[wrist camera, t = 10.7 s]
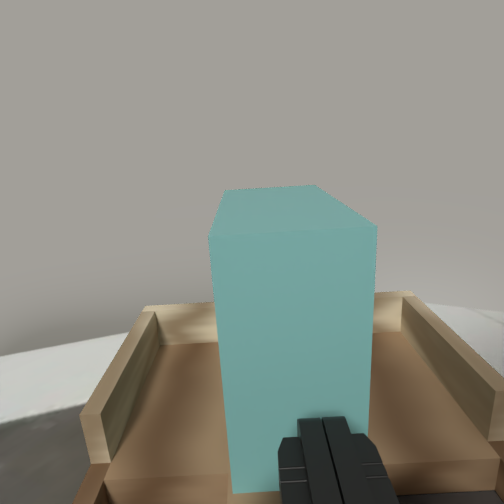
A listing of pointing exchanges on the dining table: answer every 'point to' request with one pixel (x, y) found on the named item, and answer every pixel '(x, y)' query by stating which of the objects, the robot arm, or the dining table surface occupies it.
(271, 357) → the teal box
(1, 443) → the dining table surface
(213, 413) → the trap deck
